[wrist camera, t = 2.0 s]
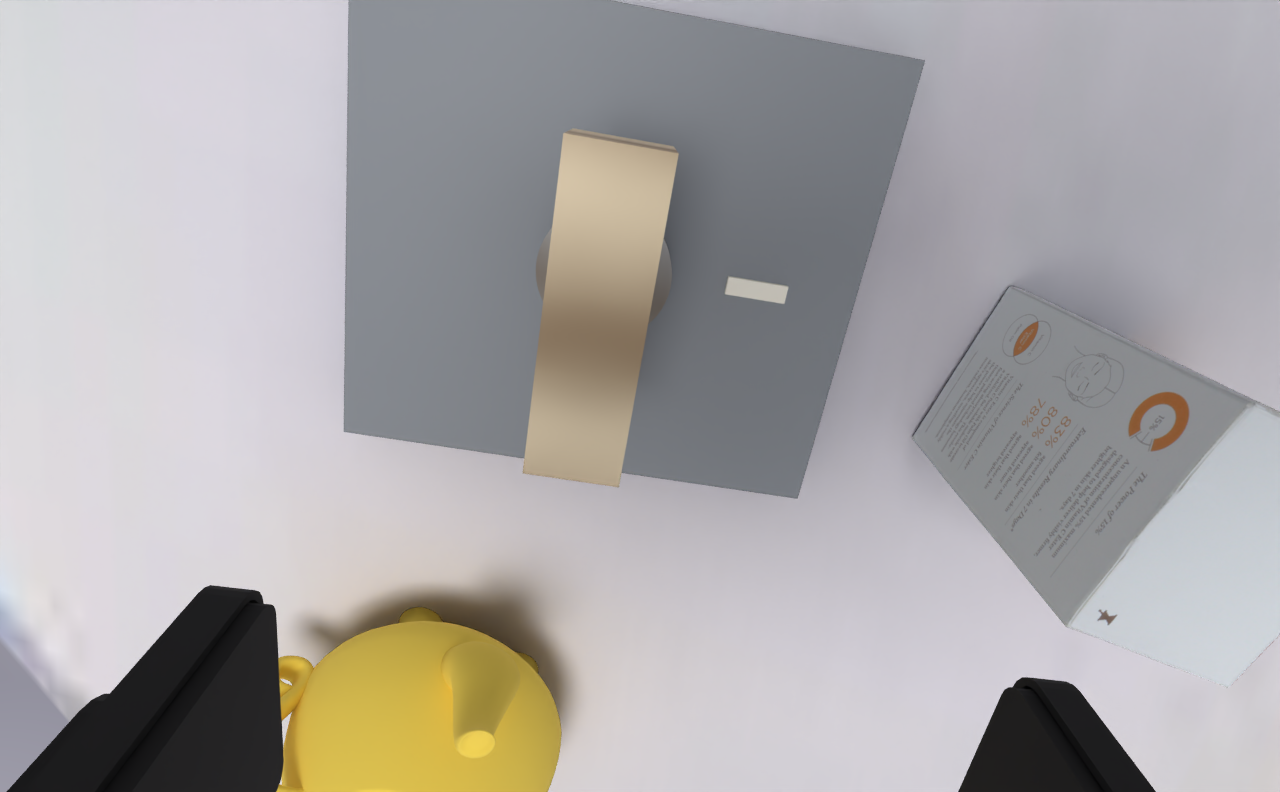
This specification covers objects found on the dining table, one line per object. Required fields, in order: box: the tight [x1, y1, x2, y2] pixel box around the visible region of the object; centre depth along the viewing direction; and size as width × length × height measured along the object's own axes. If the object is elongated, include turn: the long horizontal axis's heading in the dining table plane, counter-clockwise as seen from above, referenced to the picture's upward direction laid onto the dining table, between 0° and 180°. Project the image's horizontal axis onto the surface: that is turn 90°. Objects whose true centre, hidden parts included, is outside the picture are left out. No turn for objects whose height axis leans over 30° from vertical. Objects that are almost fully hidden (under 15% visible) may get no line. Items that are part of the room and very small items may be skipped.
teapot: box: [276, 607, 561, 792], centre depth 33 cm, size 20×15×12 cm
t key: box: [523, 128, 679, 487], centre depth 24 cm, size 10×5×8 cm, turn 170°
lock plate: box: [344, 0, 925, 499], centre depth 29 cm, size 18×20×2 cm
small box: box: [913, 286, 1280, 688], centre depth 26 cm, size 8×6×13 cm
